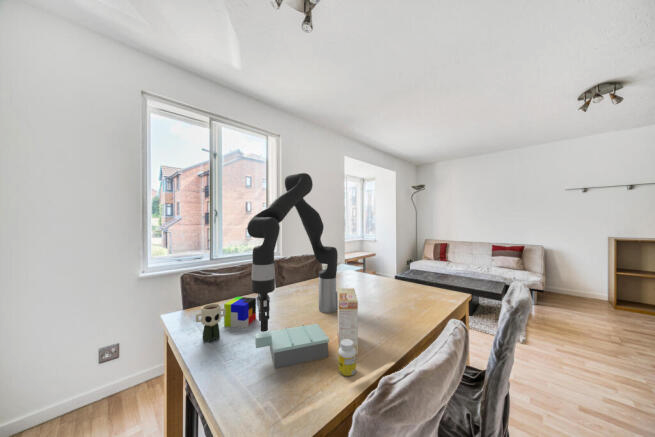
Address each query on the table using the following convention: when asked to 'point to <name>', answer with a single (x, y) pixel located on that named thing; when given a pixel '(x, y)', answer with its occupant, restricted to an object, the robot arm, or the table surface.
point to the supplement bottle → (347, 358)
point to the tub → (299, 355)
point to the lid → (291, 338)
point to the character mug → (210, 320)
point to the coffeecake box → (347, 316)
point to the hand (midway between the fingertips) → (263, 325)
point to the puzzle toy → (240, 312)
